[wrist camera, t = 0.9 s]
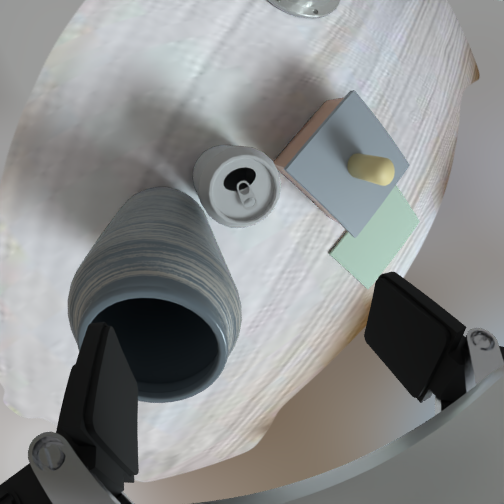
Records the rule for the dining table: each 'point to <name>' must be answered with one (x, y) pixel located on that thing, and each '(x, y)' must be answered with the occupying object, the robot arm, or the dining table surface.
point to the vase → (160, 294)
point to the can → (236, 185)
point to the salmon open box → (301, 140)
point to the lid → (349, 164)
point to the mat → (377, 239)
